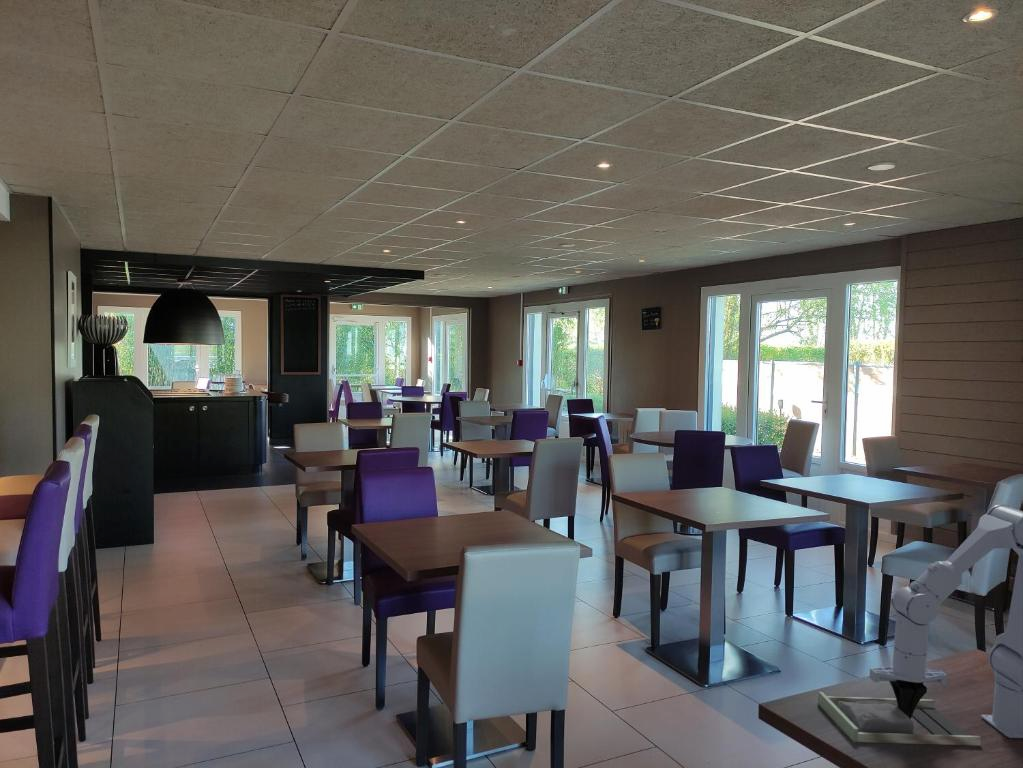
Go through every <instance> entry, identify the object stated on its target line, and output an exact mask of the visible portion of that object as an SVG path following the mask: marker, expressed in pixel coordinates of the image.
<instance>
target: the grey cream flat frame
mask: <svg viewBox="0 0 1023 768" xmlns="http://www.w3.org/2000/svg"><path fill="white" fill-rule="evenodd" d="M826 696H827V695H826ZM827 697H828V698H829V699H830V700H831V701H832V702H833V703H834V704H835V705H836V706H837V704H838V701H843V702H853V703H857V702H859V701H866V700H869V701H874V700H878V701H883V702H886V703H889V704H892V705H895V706H896V707H898V704H897V700H896V697H895V698H894V697H893V698H892V697H863V696H861V697H860V696H832V695H831V696H830V695H829V696H827ZM935 703H936V700H935V699H925V698H924V699H922V698H921V699H920V701H919V702H918V704H917V706H916V708H919V709H920V708H935ZM981 741H982V737H981V736H980V735H968V736H965V735H951V734H950V735H933V734H932V733H931V734H929V733H927V734H925V733H911V734H898V733H865V732H858V742H857V743H875V744H876V743H879V744H883V743H884V744H912V745H913V744H915V745H949V746H952V745H953V746H981V743H982V742H981Z"/></svg>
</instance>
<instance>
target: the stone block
mask: <svg viewBox="0 0 1023 768" xmlns="http://www.w3.org/2000/svg"><path fill="white" fill-rule="evenodd" d="M836 706H837V707H838V708H839V709H840V710H841V711H842V712H843V714H844V715H845V716H846V717H847V718H848V719H849V720H850V721H851V722H852V723H853V724H854V725H855V726H856V727H857V728H858V729H859V730H858V732H865V733H898V734H913V731H914V729H915V725H914V722H913V720H912V718H911V719H910V718H909V717H908V716H907V715H906V714H904V713H903V712H902V711H901V710H900V709H899V708H898V707H896V706H895V705H892V704H889V703H886V702H883V701H878V700H874V701H869V700H866V701H859V702H857V703H853V702H843V701H838V704H837V705H836Z"/></svg>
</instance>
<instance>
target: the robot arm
mask: <svg viewBox="0 0 1023 768" xmlns="http://www.w3.org/2000/svg"><path fill="white" fill-rule="evenodd" d="M994 549H1013V551H1014V552H1015V553H1016V554H1017V555H1018V558H1017V566H1016V572H1015V576H1014V583H1013V589H1012V596H1011V601H1010V607H1009V613H1008V618H1007V625H1006V630H1005V632H1003V633H1000V634H998V635H996V637H995V642H994V644H993V646H992V647H991V649H990V651H989V652H988V656H987V660H988V665H989V666H990V668H991V669H993V676H994V677H995V680H994V691H993V692H994V693H993V703H992V713H991V714H981V715H980V717H981V718H982V719H983V720H984V721H985V722H987V723H988V724H989V725H991V726H992V727H993V728H994V729H996V730H997V731H999V732H1000V733H1001V734H1003V735H1004V736H1005V737H1008V738H1009V739H1023V510H1019V509H1016V508H1014V507H1011V506H1009V505H1006V504H996V505H993V506H991V508H989V509H988V510H987V512H986V513H985V514H983V515H981V517H980V518H979V520H978V524H977V527H976V528H975V529H974V530H973V531H972V533H971V534H969V535H968V536H967V538H966V539H965V540H964V541H963V542H962V543H961V544H960V545H959V547H958V548H957V549H956V550H955V551H954V552H953V553H952V554H951V555H950V556H949V557H948V558H947V559H946V560H938V561H937V560H936V561H935V562H934V563H929V564H928V565H927V566H926V570H925V571H924V572H923V573H922V574H920V576H918V578H916V579H915V580H914V581H911V583H909V586H905V587H900V588H899V589H898V590H897V591H896V592H895V593H894V595H893V597H891V598H890V604H891V607H892V608H893V610H894V612H895V626H894V627H895V629H894V638H893V640H894V642H893V651H892V652H893V655H892V665H888V666H881V667H871V668H869V677H868V678H869V679H870V680H872V681H873V682H874V683H880V682H889V684H890V685H891V688H892V690H893V692H894V696H895V698H896V700H897V704H898V708H899V709H900V710H901V711H902V712H903V713H904V714H906V715H907V716H908V717H909V718H910V719H911V720H912V718H913V716H912V715H913V712H914V710H915V708H916V706H917V704H918V702H919V701H920V699H922V698H923V697H924V696H925V695H926V694H927V691H928V687H927V686H925V685H924V683H937V684H940V685H947V684H948V683H947V682H948V674H946V673H945V672H944V671H942V670H937V669H929V668H926V667H927V657H928V643H929V630H930V623H931V622H932V621H934V620H936V618H937V616H938V614H939V608H941V604H942V603H943V602H944V601H945V600H946V599H947V598H949V596H950V595H952V594H953V592H954V591H955V590H957V589H958V588H959V587H960V586H961V585H962V584H963V574H964V573H965V572H966V571H968V570H969V569H970V568H971V567H973V566H974V565H975V564H977V563H978V562H979V561H981V559H983V558H984V557H986V555H988V554H990V552H992V551H993V550H994Z"/></svg>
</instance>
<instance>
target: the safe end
mask: <svg viewBox="0 0 1023 768" xmlns="http://www.w3.org/2000/svg"><path fill="white" fill-rule="evenodd" d="M817 695H818V697H817V704H818V706H819V707H820V708H822V710H823V711H824V712H825V713H826V714H827V715H828V716H829V717H830V719H832V720H833V722H834V723H835V724H836V725H837V726H838V727H839V728H840V730H842V731H843V732H844V734H845V735H847V737H848V738H849V739H850V740H851V741H852V742H853V743H859V742H858V730H859V729H858V728H857V727H856V726H855V725H854V724H853V723H852V722H851V721H850V720H849V719H848V718H847V717H846V716H845V715H844V714H843V712H842V711H841V710H840V709H839V708H838V707H837V705H835V704H834V703H833V702H832V701H831V700H830V699H829V698H828V697H827V695H826V694H825V693H824V692H823V691H818V694H817Z"/></svg>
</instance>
